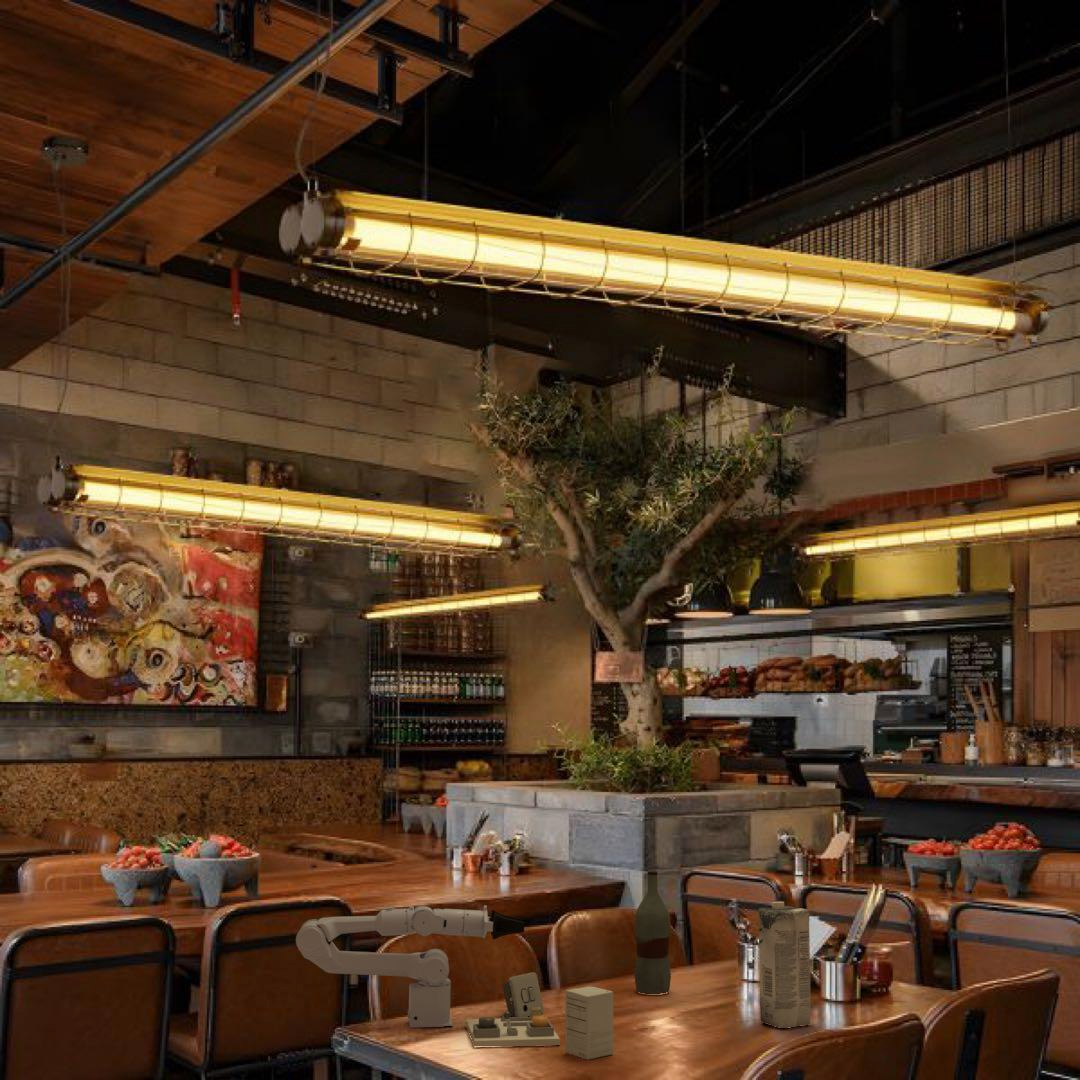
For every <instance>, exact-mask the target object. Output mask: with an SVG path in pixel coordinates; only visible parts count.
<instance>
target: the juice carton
mask: <svg viewBox="0 0 1080 1080" xmlns="http://www.w3.org/2000/svg"><path fill="white" fill-rule="evenodd" d="M810 913H811V912H810V910H809V909H806V908H802V907H797V906H791V905H785V901H772V902H771V907H760V908H758V938H759V940H758V941H759V942H758V943H759V944H758V946H759V949H758V950H759V955H758V956H759V957H758V958H759V1012H760V1021H762V1022H764V1023H768V1024H771V1025H773V1026H776V1027H780V1028H788V1027H795V1026H800V1025H806V1024H811V1011H812V1009H811V1005H812V1004H811V957H810V956H811V953H810V951H811V950H810V949H811V945H810ZM762 1022H761V1023H762ZM795 1028H796V1027H795Z"/></svg>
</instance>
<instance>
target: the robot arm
mask: <svg viewBox="0 0 1080 1080" xmlns="http://www.w3.org/2000/svg"><path fill="white" fill-rule="evenodd" d="M408 907H409V908H396V909H395V908H393V906H386V909H381V910H380V911H379V912H378V913H377V914H376V915H361V916H360V915H359V916H357V915H356V916H355V915H353V916H351V915H350V916H348V915H347V916H345V915H344V916H329V917H327V916H326V917H321V918H319V919H309V920H307V921H305V922H304V923H303V924H302V925H301V927H300V929H299V931H298V932H297V934H296V937H295V944H296V947H297V949H298V950H299V952H300V953H301V955H302V957H303V958H304V959H306V960H308V961H310V962H312V963H313V964H314V965H316V966H317V967H318V968H320V970H321V969H322V970H323V971H324V972H325V973H328V974H336V975H337V974H339V975H341V974H342V975H365V976H388V977H389V976H391V977H407V978H410V979H414V980H418V982H417V983H410V984H409V987H408V989H409V990H408V991H409V993H408V1010H407V1019H408V1023H409V1028H445V1027H444V1026H452V1027H454V1024H453V1021H452V1019H451V984H452V983H451V979H449V977H448V976H449V973H450V966H449V965H450V964H449V958H448V956H447V954H446V953H445V952H444V951H443V950H442V949H439V948H432V949H429V950H426V951H423V952H412V953H400V952H399V953H397V952H396V953H394V952H371V951H353V950H352V951H350V950H349V951H348V950H340V949H339V948H338V947H337V946H336V944H335V943H334V942H333V940H335V939H336V938H338V936H340V935H341V934H342V935H344V934H352V933H353V934H354V933H363V932H375V931H376V932H378V934H379V935H381V936H382V937H388V936H389V937H390V936H408V935H411V934H413V933H415V934H418V935H420V936H422V937H427V936H430V935H431V934H433V935H434V934H435V935H436V934H437V935H443V936H460V937H461V936H463V937H479V938H480V937H481V938H483V939H485V938H487V937H486V936H487V935H488V932H489V933H490V935H491V939H492V940H496V939H499V938H500V937H504V936H508V935H516V934H522V933H525V923H526V922H524V921H523V919H522V918H520V917H519V918H518V917H515V916H511V915H510V916H509V915H506V914H503V913H500V912H498V911H497V910H495V909H491V911H490V916H488V914H489V913H488V906H487V905H485V904H484V905H483V910H477V909H476V910H475V909H459V908H458V909H457V908H442V909H441V908H433V909H432V908H431V907H430V906H425V905H418V906H416V907H414V905H409V906H408Z"/></svg>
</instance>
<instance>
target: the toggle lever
mask: <svg viewBox="0 0 1080 1080" xmlns="http://www.w3.org/2000/svg"><path fill="white" fill-rule="evenodd" d="M502 1016H503V1018H505V1019H506V1023H507V1028H508V1030H512V1028H511V1022H510V1017H511V1014H510V1012H508V1011H505V1012H503V1015H502Z"/></svg>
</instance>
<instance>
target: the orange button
mask: <svg viewBox="0 0 1080 1080" xmlns="http://www.w3.org/2000/svg"><path fill="white" fill-rule="evenodd" d="M548 1021H549V1017H548V1016H546V1015H541V1016H534V1017H532V1026H534V1027H546V1026H548Z"/></svg>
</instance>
